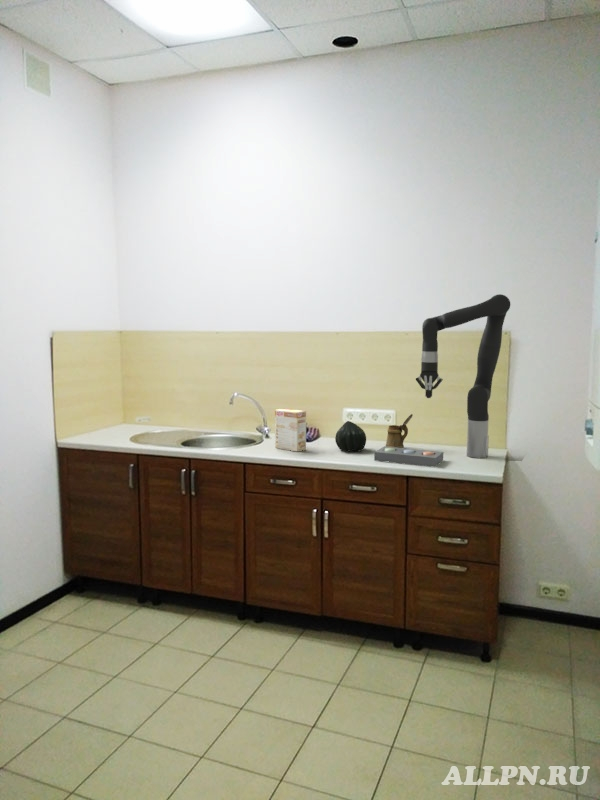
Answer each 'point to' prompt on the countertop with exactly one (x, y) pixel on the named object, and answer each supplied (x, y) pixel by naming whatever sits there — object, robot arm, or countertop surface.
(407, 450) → the slate button
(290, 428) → the coffeecake box
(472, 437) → the robot arm
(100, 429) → the countertop surface
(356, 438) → the squash
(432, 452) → the terracotta button
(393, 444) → the wooden mug
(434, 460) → the button panel
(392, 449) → the sage button
